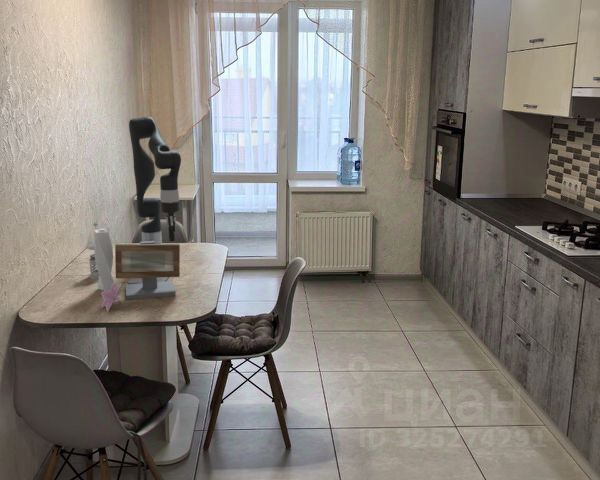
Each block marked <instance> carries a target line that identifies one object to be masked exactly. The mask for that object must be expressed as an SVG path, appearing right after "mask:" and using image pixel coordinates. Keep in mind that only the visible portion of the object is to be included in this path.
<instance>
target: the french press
mask: <svg viewBox="0 0 600 480" xmlns="http://www.w3.org/2000/svg"><path fill="white" fill-rule="evenodd" d="M93 226H94V227H95V228H97V226H98V222H94V223H93ZM87 249H88V250H90V251H94V243H93V244H90V245H89V246H88V247H87ZM89 257H90V258H89V259H88V261H89V267H90V268H89V269H90V270H89V272H90V274H88V278H89V279H92V280H93V279H96V280H99V272H98V269H97V265H96V260H95V253H92V254H90V255H89Z"/></svg>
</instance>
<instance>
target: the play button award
mask: <svg viewBox="0 0 600 480" xmlns="http://www.w3.org/2000/svg"><path fill="white" fill-rule="evenodd" d="M169 279H170V277H157V282H164V281H169ZM139 283H142V278H129V280H128V281H127V283H126V284H139Z"/></svg>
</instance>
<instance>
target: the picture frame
mask: <svg viewBox="0 0 600 480" xmlns="http://www.w3.org/2000/svg"><path fill="white" fill-rule="evenodd" d="M180 247H181V245H180V243H162V244H140V243H132V244H130V243H129V244H127V243H126V244H125V243H124V244H115V245H114V255H115V256H114V258H115V259H114V260H115V261H114V262H115V267H114V268H115V279H116V280H117V279H131V278H157V277H169V278H180V273H181V272H180V266H181V265H180V263H181V261H180V252H181V251H180V249H181V248H180Z"/></svg>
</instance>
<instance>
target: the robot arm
mask: <svg viewBox="0 0 600 480" xmlns="http://www.w3.org/2000/svg"><path fill="white" fill-rule="evenodd" d="M128 129H129V136H130V142H131V148H132V149H131V150H132V158H133V159H132V161H133V174H134V181H135V186H136V187H135V190H136V211H137V215H138V217H139V218H143V219H144V218H145V219H146V218H153V219H152V220H151V221H148V222H147V223H144V224H143V225H141V227H140V228H141V229H140V230H141V242H144V241H155V244H163V238H162V223H161V212H162V213H163V214H164V213H165V214H166V213H167V215H165V220H166V227H167V232H168V241H169V242H175V232H176V221H177V217H176V215H175V213H178V212H180V194H179V184H178V180H179V172H180V168H181V163H182V158H181V157H182V156H181V154H180V153H179V152H178V151H176V150H175V151H174V150H172V151H170V147H169V146H168V145H167V143H166V142H165V141H164V139H163V137H162V135H161V132H160V130H159V127H158V126H157V124H156V122H155V120H154V119H153V118H152V117H151V116H140V117H136V118H135V117H134V118H131V119H129V121H128ZM144 139H148V149H149V151H150V153H151V154H152V155H153V158H154V160H153V159H152V157H151V156H150V155H149V154H148V152H146V150H145V149H144V147H142V145H141V142H140V140H144ZM155 168H157V169H158V170H169V172H168V173H165V174H162V175H161V176H160V177H159V184H160V194H159V195H160V199H159V198H157V197H145V194H146V192H147V190H148V188H150V186H151V184H152V183H153V181H154V179H155V177H156V170H155ZM144 197H145V198H144Z"/></svg>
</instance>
